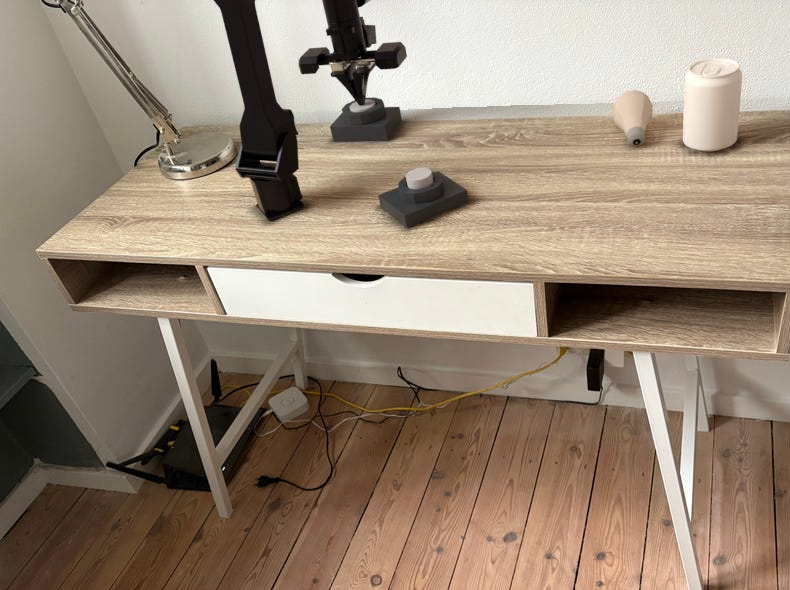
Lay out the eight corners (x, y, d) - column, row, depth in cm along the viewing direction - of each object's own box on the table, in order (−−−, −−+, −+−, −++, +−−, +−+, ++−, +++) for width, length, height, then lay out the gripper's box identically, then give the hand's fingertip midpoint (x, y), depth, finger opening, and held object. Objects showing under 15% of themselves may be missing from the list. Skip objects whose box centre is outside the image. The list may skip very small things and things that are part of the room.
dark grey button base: (407, 228, 123) (402, 205, 120) (380, 207, 129) (375, 184, 127) (469, 202, 126) (465, 178, 124) (440, 183, 133) (436, 160, 130)
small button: (415, 193, 123) (413, 182, 122) (403, 184, 126) (401, 174, 125) (438, 183, 125) (436, 173, 123) (425, 175, 127) (423, 165, 126)
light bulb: (654, 121, 127) (647, 76, 133) (611, 132, 129) (606, 88, 135) (661, 152, 132) (654, 108, 138) (620, 163, 134) (614, 118, 140)
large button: (381, 109, 152) (378, 98, 151) (371, 120, 149) (369, 109, 148) (357, 110, 154) (355, 99, 153) (348, 121, 150) (345, 110, 149)
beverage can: (743, 134, 129) (750, 58, 122) (727, 157, 124) (733, 79, 117) (692, 129, 133) (696, 55, 126) (675, 151, 128) (677, 75, 121)
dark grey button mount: (402, 121, 154) (397, 96, 151) (388, 140, 149) (382, 114, 146) (349, 123, 158) (343, 97, 155) (333, 141, 152) (327, 116, 149)
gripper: (407, -3, 143) (422, 84, 153) (311, 6, 149) (331, 89, 159) (388, 19, 135) (405, 109, 145) (287, 27, 141) (309, 113, 151)
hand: (362, 104), depth 150 cm, fingers closed, pressing on large button
